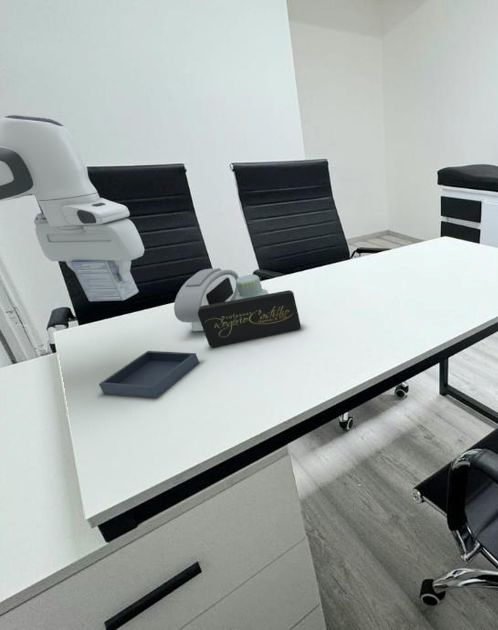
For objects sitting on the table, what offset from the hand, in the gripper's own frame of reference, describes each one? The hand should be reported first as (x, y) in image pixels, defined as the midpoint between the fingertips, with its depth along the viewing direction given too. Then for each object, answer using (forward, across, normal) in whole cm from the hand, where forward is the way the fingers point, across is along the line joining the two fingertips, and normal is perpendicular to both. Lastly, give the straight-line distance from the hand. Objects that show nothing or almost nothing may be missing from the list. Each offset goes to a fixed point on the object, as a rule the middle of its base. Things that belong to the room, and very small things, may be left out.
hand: (107, 280), depth 79 cm
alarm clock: (+20, +4, +22) cm, 30 cm away
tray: (+19, +8, -6) cm, 22 cm away
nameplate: (+20, +22, +12) cm, 31 cm away
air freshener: (+20, +14, +25) cm, 34 cm away
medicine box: (+4, 0, 0) cm, 4 cm away
